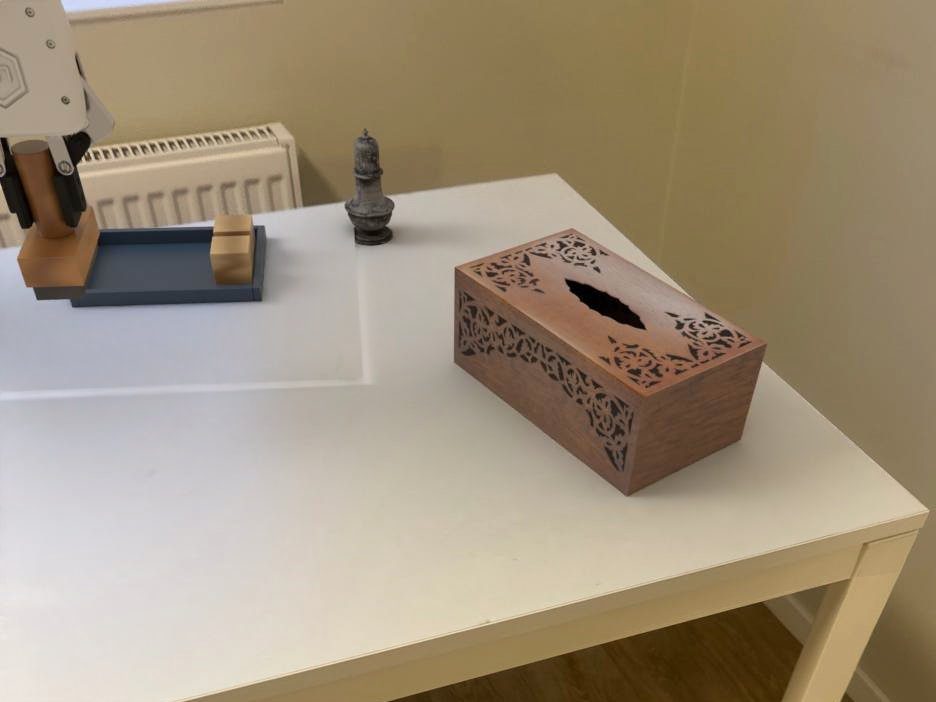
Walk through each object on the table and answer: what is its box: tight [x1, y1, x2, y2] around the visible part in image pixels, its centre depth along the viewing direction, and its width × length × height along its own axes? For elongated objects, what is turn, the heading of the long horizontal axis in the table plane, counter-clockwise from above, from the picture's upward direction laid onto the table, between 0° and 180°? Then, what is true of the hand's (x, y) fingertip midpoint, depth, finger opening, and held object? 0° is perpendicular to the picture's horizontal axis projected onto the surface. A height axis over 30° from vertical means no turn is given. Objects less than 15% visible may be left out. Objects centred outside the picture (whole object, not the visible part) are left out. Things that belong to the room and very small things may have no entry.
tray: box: [69, 224, 267, 308], centre depth 106 cm, size 20×15×2 cm
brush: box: [11, 139, 100, 301], centre depth 76 cm, size 4×9×10 cm, turn 7°
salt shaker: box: [344, 127, 396, 246], centre depth 111 cm, size 6×6×12 cm
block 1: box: [213, 214, 256, 264], centre depth 107 cm, size 4×4×4 cm
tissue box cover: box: [453, 227, 768, 497], centre depth 90 cm, size 26×14×10 cm, turn 37°
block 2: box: [210, 236, 254, 286], centre depth 104 cm, size 4×4×4 cm
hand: (52, 218), depth 76 cm, fingers closed on brush, 2 cm apart
